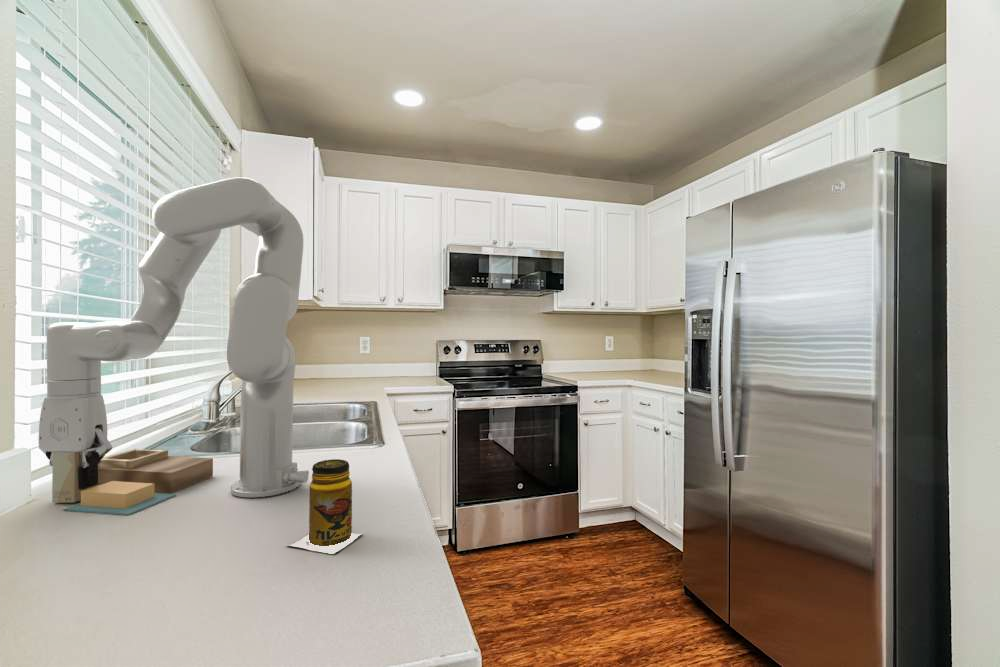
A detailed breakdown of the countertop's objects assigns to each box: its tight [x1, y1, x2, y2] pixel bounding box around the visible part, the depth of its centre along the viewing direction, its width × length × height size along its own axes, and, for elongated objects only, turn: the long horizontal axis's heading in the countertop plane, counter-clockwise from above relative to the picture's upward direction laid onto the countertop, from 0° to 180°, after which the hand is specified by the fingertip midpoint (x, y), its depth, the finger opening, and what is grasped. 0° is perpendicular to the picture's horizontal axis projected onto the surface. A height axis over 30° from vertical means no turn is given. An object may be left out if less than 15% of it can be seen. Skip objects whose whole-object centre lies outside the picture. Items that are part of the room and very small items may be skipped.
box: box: [51, 447, 97, 503], centre depth 89 cm, size 5×4×11 cm
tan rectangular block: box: [80, 481, 155, 508], centre depth 88 cm, size 9×6×2 cm, turn 82°
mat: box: [62, 492, 177, 516], centre depth 88 cm, size 13×10×1 cm
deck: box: [97, 448, 214, 494], centre depth 100 cm, size 18×11×6 cm, turn 82°
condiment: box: [308, 458, 353, 546], centre depth 72 cm, size 7×8×12 cm
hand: (75, 485), depth 89 cm, fingers closed on box, 4 cm apart
